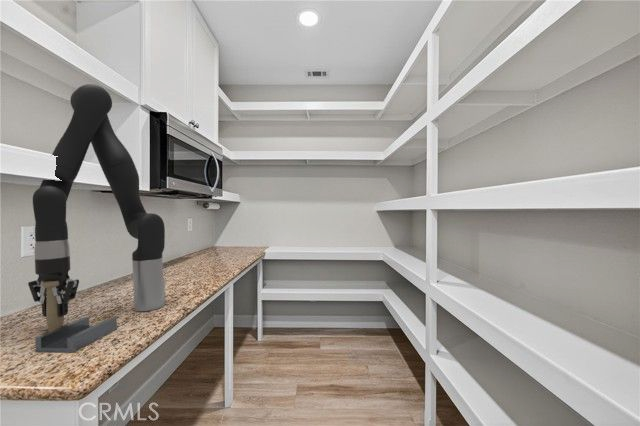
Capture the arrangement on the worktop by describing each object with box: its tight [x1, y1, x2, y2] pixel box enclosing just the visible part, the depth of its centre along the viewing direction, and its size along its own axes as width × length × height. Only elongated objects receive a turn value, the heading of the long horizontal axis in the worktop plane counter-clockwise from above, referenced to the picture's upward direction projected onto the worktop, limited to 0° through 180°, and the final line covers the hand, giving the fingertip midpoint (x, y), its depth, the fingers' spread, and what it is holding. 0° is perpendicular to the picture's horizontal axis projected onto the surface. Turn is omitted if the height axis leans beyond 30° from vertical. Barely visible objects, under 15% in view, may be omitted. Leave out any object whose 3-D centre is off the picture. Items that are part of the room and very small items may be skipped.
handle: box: [42, 281, 65, 333], centre depth 86 cm, size 5×6×15 cm
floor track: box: [34, 316, 118, 353], centre depth 80 cm, size 14×10×4 cm
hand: (55, 315), depth 86 cm, fingers closed on handle, 4 cm apart
